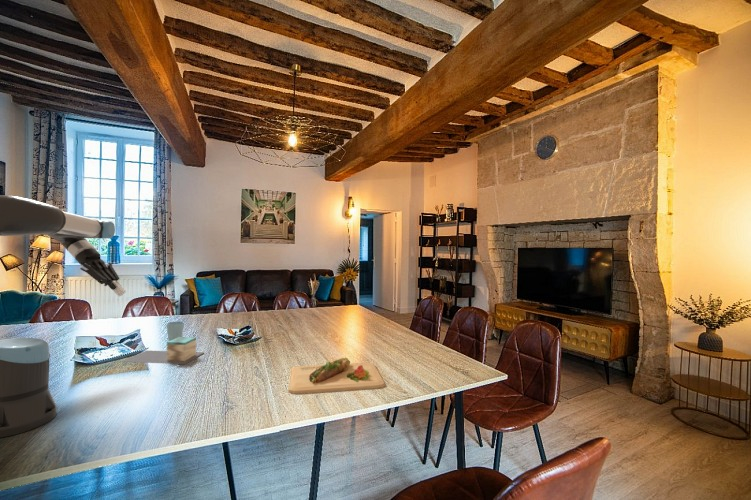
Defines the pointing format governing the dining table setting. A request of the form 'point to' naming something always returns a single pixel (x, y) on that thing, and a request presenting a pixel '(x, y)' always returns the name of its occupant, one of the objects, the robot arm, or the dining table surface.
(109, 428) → the dining table surface
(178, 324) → the cup
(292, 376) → the cutting board
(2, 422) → the robot arm
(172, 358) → the maple cube
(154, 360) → the rubber mat
